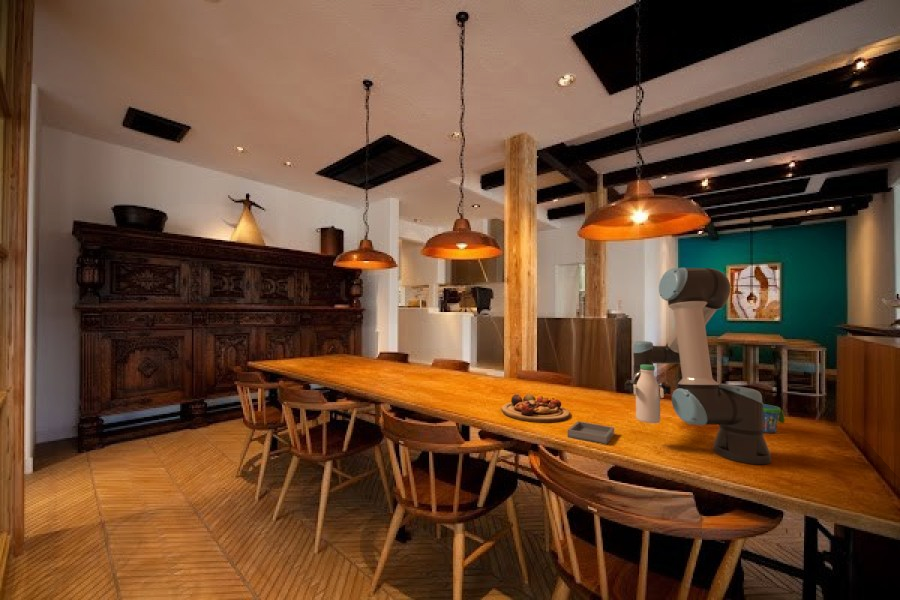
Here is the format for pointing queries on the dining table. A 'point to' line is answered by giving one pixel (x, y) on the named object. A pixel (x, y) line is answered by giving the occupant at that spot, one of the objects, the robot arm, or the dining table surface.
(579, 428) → the bottle tray
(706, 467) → the dining table surface
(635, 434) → the dining table surface
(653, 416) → the milk bottle
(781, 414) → the snack cup
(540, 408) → the wooden plate with food
